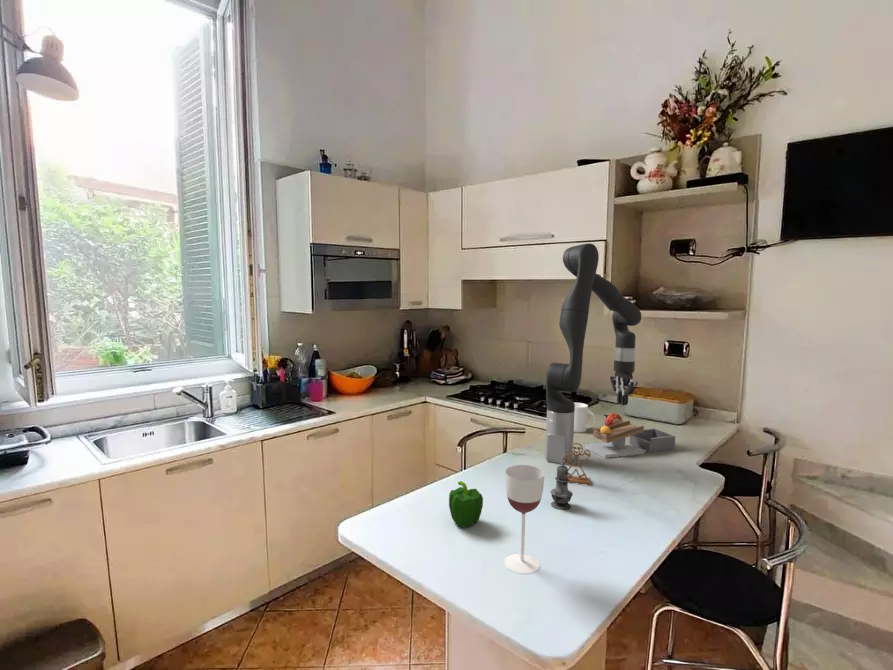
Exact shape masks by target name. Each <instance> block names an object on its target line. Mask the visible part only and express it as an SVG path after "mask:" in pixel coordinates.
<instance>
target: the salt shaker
mask: <svg viewBox="0 0 893 670" xmlns="http://www.w3.org/2000/svg"><path fill="white" fill-rule="evenodd" d="M568 469H569V467H568V466H565V464H564V463H562V464H560V465H558V466H557V469H556V477H555V478H554V479H555V482H556V483H555V488H552V489H551V490H550V494H551V498H552V500H553V501H552V502H551V503H550V505H551V507H552V508H554V509H555V510H560V511H567V510H570V509H571V508H572V505H571V504H570V501H571V499H572V497H573V492H572V491H571V490H569V487H568V486H569V485H568V484H569V483H568V481H569V479H568V473H569V471H568Z"/></svg>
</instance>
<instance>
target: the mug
mask: <svg viewBox="0 0 893 670" xmlns="http://www.w3.org/2000/svg"><path fill="white" fill-rule="evenodd" d="M574 404H575V415H574V433H578V434H579V433H586V431H587V430H588V429H591V428H593V427H594V426H595V424H596V416H595V414H594V413H593V411H591V410H590V409H589V405H588V404H586V403H583V402H574ZM588 415H590V416H592V418H593V423H592V424H588Z"/></svg>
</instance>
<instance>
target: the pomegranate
mask: <svg viewBox="0 0 893 670" xmlns="http://www.w3.org/2000/svg"><path fill="white" fill-rule="evenodd" d="M604 416H605V418H604V426H611V425H615V424H616V423H613V420H614V419H619V420H622V421H623V418H622V416H621V415H620V414H618V413H616V412H612V413H609V414H605V413H604V414H603V417H604Z"/></svg>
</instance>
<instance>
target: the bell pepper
mask: <svg viewBox="0 0 893 670" xmlns="http://www.w3.org/2000/svg"><path fill="white" fill-rule="evenodd" d="M457 484H458V485H459V487H457V488H455V489H451V490H450V492H449V494H448V507H449V508H448V509H449V511H450V516H451V518H452V520H453V522H454V523H455V524H456V525H457V526H458V527H461V528H470V527H472V526H473V525H475V524H477V523H478V522H479V520H480V517H481V515H482V510H483V505H484V498H483V495H482V493H480V492H479V491H478V489H477V488H470V489H468V487H467V484H466V483H465V482H464V481H461V480H459V481H457Z"/></svg>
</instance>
